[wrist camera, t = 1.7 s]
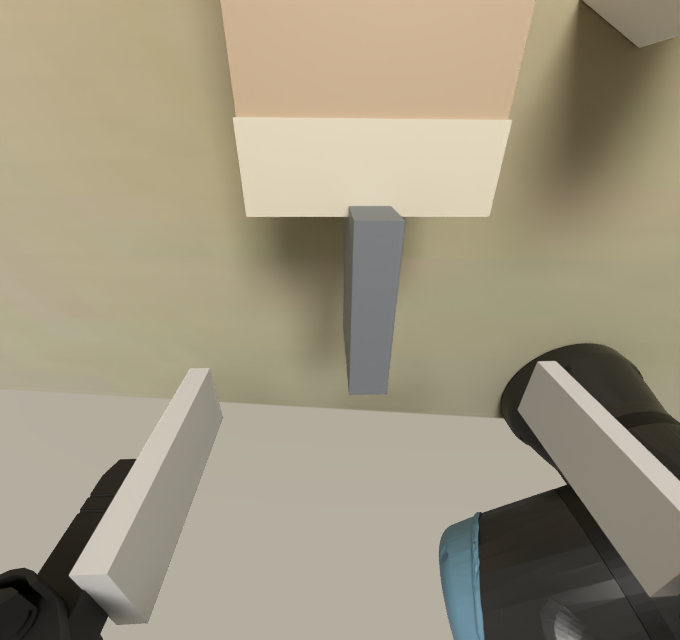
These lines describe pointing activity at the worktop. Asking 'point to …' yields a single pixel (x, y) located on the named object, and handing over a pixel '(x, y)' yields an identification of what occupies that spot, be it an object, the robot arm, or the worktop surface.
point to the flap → (372, 129)
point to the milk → (641, 18)
